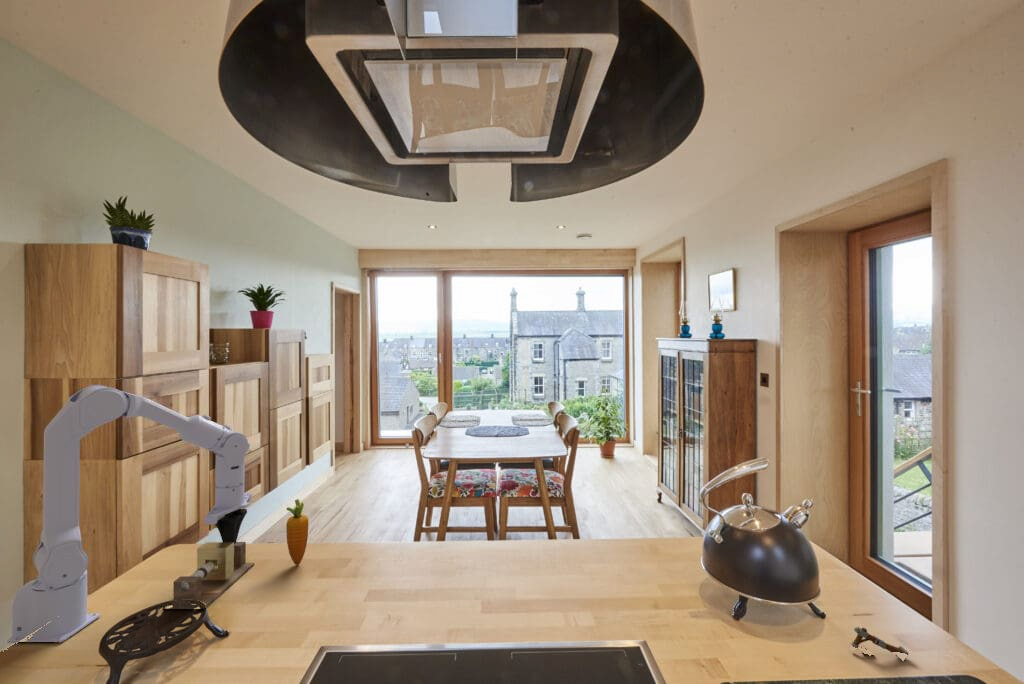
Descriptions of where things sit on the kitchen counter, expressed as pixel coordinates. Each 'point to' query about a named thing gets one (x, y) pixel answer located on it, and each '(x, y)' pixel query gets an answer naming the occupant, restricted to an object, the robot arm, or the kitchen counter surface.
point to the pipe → (203, 571)
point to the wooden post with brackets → (874, 641)
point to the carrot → (297, 533)
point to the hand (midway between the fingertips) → (229, 544)
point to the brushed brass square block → (220, 553)
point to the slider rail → (212, 581)
